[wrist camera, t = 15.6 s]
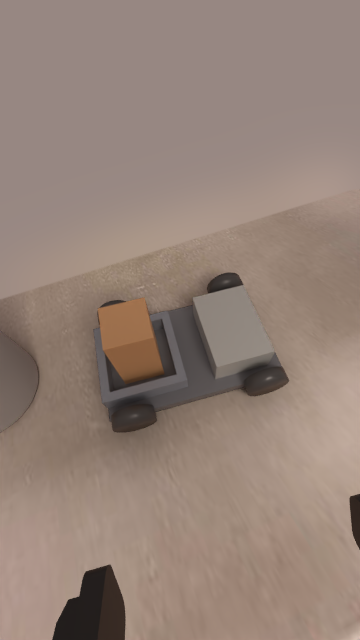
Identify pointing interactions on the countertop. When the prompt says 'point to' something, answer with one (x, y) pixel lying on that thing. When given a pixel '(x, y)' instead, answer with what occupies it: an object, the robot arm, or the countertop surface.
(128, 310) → the orange rectangular block
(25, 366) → the cylinder vase
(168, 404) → the toy car chassis
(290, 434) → the countertop surface
